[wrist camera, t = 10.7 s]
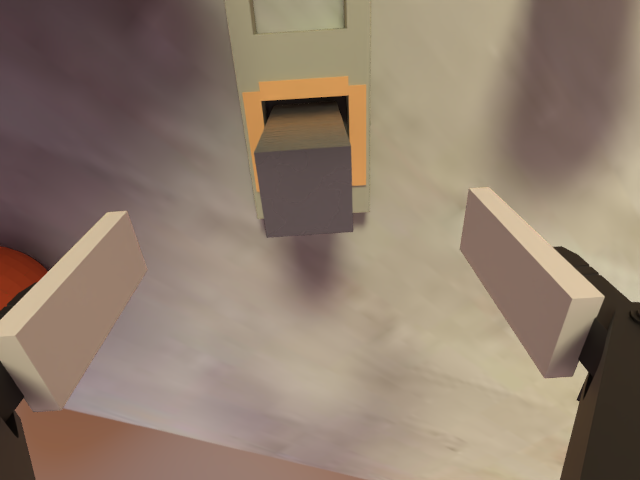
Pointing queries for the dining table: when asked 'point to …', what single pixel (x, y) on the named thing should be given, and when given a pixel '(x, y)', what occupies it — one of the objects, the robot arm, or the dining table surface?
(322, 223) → the grey rectangular block
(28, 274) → the tomato
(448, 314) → the dining table surface
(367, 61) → the rail
